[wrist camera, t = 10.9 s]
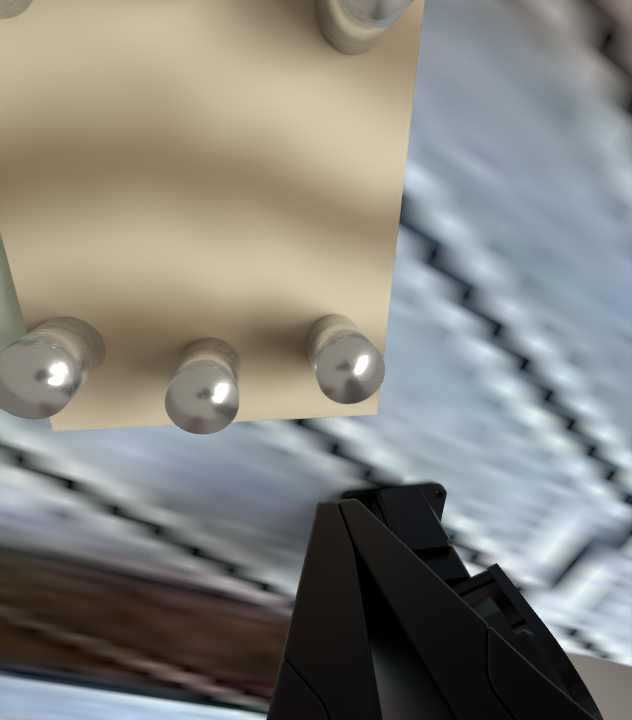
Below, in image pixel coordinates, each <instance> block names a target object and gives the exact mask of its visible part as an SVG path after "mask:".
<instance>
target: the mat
mask: <svg viewBox="0 0 632 720" xmlns="http://www.w3.org/2000/svg"><path fill="white" fill-rule="evenodd" d="M26 334H27V331H26V327H25V323H24V320H23V316H22V312H21V308H20V304H19V301H18V297H17V293H16V289H15V285H14V282H13V278H12V274H11V270H10V266H9V263H8V259H7V255H6V251H5V247H4V244H3V240H2V236H1V232H0V351H1V350H3V349H4V348H6V347H7V346H9V345H10V344H12V343H14V342H15V341H17V340H18V339H20V338H21V337H23V336H24V335H26Z"/></svg>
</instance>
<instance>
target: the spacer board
mask: <svg viewBox="0 0 632 720" xmlns="http://www.w3.org/2000/svg"><path fill="white" fill-rule="evenodd" d="M424 1H425V0H415V1H414V2H413V3H412V4H411V5H410V7H409V8H408V9H407V10H406V11H405V12H404V13H403V15H402V16H401V17H400V18H399V19H398V20H397V22H396V23H395V24H394V25H393V26H392V27H391V28H390V30H389V31H388V32H387V33H386V34H385V35H384V36H383V38H382V39H381V40H380V41H379V42H378V43H377V44H376V45H375V46H374V47H373V48H372V49H371V50H369V51H367V52H365V53H363V54H360V55H347V54H343V53H341V52H339V51H337V50H336V49H334V48H333V47H332V46H331V45H330V44H329V43H328V42H327V41H326V40H325V38H324V36H323V35H322V33H321V31H320V29H319V26H318V23H317V19H316V12H315V0H33V1H32V3H31V4H30V6H29V7H28V8H27V9H26V11H24V12H23V13H22V14H20V15H18V16H16V17H13V18H7V19H0V232H1V236H2V240H3V244H4V247H5V251H6V255H7V259H8V263H9V266H10V270H11V274H12V278H13V282H14V285H15V289H16V293H17V297H18V301H19V304H20V308H21V312H22V316H23V320H24V323H25V327H26V331H27V334H28V333H29V332H31V331H32V330H34V329H35V328H37V327H39V326H40V325H42V324H43V323H45V322H46V321H48V320H50V319H52V318H56V317H62V316H68V317H75V318H78V319H81V320H83V321H85V322H87V323H89V324H90V325H92V326H93V327H94V328H95V329H96V330H97V331H98V332H99V334H100V335H101V337H102V338H103V341H104V343H105V349H106V353H105V358H104V360H103V362H102V364H101V365H100V366H99V368H98V369H97V370H96V371H95V372H94V373H93V375H92V376H91V377H90V378H89V379H88V380H87V382H86V383H85V384H84V385H83V386H82V387H81V389H80V390H79V391H78V392H77V393H76V395H75V396H74V397H73V398H72V399H71V400H70V402H69V403H68V404H67V405H66V406H65V407H64V408H63V409H62V410H61V411H60V412H58V413H57V414H55V415H53V416H50V417H49V418H50V422H51V426H52V430H53V431H72V430H91V429H110V428H129V427H149V426H168V425H175V424H174V423H173V422H172V420H171V419H170V418H169V416H168V414H167V412H166V409H165V396H166V392H167V390H168V387H169V385H170V382H171V380H172V378H173V375H174V373H175V370H176V368H177V365H178V363H179V360H180V358H181V355H182V353H183V351H184V350H185V348H186V347H187V346H188V345H189V344H191V343H192V342H194V341H196V340H198V339H202V338H217V339H220V340H223V341H225V342H227V343H228V344H230V345H231V346H232V347H233V348H234V349H235V351H236V352H237V354H238V356H239V359H240V389H239V408H238V412H237V415H236V417H235V418H234V420H233V421H232V422H244V421H264V420H283V419H302V418H321V417H340V416H360V415H377V408H378V399H379V391H380V387H379V388H378V390H377V391H376V392H375V393H374V394H373V395H372V396H370V397H369V398H367V399H366V400H364V401H362V402H359V403H355V404H340V403H337V402H334V401H332V400H330V399H329V398H328V397H326V396H325V394H324V393H323V392H322V390H321V389H320V386H319V384H318V381H317V378H316V376H315V373H314V370H313V368H312V365H311V362H310V360H309V357H308V354H307V352H306V348H305V338H306V334H307V332H308V330H309V328H310V327H311V325H312V324H313V323H314V322H315V321H317V320H318V319H320V318H321V317H323V316H326V315H331V314H339V315H343V316H346V317H348V318H350V319H351V320H352V321H353V322H354V323H355V324H356V325H357V326H358V328H359V329H360V330H361V331H362V332H363V334H364V335H365V336H366V337H367V338H368V340H369V341H370V342H371V343H372V344H373V346H374V347H375V348H376V349H377V350H378V352H379V353H380V354H381V356H382V358H383V356H384V347H385V339H386V330H387V322H388V313H389V304H390V296H391V287H392V278H393V270H394V261H395V252H396V244H397V235H398V226H399V218H400V209H401V200H402V192H403V183H404V174H405V166H406V157H407V148H408V140H409V131H410V122H411V114H412V105H413V96H414V88H415V79H416V70H417V62H418V53H419V44H420V36H421V27H422V18H423V10H424Z"/></svg>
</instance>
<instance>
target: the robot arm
mask: <svg viewBox="0 0 632 720" xmlns="http://www.w3.org/2000/svg"><path fill="white" fill-rule="evenodd" d="M437 492H438V493H437ZM446 495H447V492H446V490H445V489H444V487H443V486H442V485H441V484H431V485H419V486H407V487H396V488H384V489H372V490H360V491H349V492H346V493H344V494H343V495H342V496H341V500H339V501H338V503H337V502H336V501H327V502H319V503H318V504H317V507H316V512H315V516H314V520H313V525H312V529H311V533H310V538H309V542H308V546H307V551H306V555H305V560H304V564H303V568H302V573H301V577H300V581H299V586H298V590H297V594H296V599H295V603H294V607H293V612H292V616H291V620H290V625H289V629H288V634H287V638H286V642H285V647H284V651H283V655H282V661H281V663H280V667H279V671H278V676H277V680H276V685H275V689H274V692H273V696H272V700H271V704H270V708H269V712H268V715H267V719H266V720H603V718H602V716H601V713H600V711H599V709H598V707H597V706H596V704H595V702H594V700H593V698H592V696H591V695H590V693H589V691H588V689H587V687H586V686H585V684H584V682H583V681H582V679H581V677H580V676H579V674H578V672H577V671H576V669H575V668H574V666H573V665H572V663H571V661H570V660H569V658H568V657H567V655H566V654H565V652H564V651H563V649H562V648H561V646H560V645H559V643H558V642H557V640H556V639H555V638H554V636H553V635H552V634H551V632H550V631H549V630H548V628H547V627H546V626H545V624H544V623H543V622H542V620H541V619H540V618H539V617H538V615H537V614H536V613H535V612H534V610H533V609H532V608H531V606H530V605H529V604H528V603H527V601H526V600H525V599H524V597H523V596H522V595H521V594H520V592H519V591H518V590H517V588H516V587H515V586H514V585H513V583H512V582H511V581H510V579H509V578H508V577H507V576H506V574H505V573H504V572H503V570H502V569H501V568H500V567H499V565H498V564H497V563H496V564H493V565H491V566H489V567H487V570H486V571H484V572H481V573H479V574H477V575H475V576H473V577H471V576H470V574H469V573H468V571H467V569H466V567H465V566H464V564H463V562H462V561H461V559H460V557H459V555H458V554H457V552H456V550H455V549H454V547H453V545H452V541H451V539H450V537H449V536H448V534H447V532H446V531H445V529H444V527H443V526H442V524H441V518H442V513H443V508H444V504H445V499H446Z"/></svg>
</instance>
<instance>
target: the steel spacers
mask: <svg viewBox="0 0 632 720" xmlns="http://www.w3.org/2000/svg"><path fill="white" fill-rule="evenodd" d="M32 1H33V0H0V19H7V18H13V17H16V16H18V15H20V14H22V13H23V12H24V11H26V9H27V8H28V7H29V6H30V4H31V3H32ZM414 1H415V0H315V12H316V19H317V23H318V26H319V29H320V31H321V33H322V35H323V36H324V38H325V40H326V41H327V42H328V43H329V44H330V45H331V46H332V47H333V48H334V49H336V50H337V51H339V52H341V53H343V54H347V55H360V54H363V53H365V52H367V51H369V50H371V49H372V48H373V47H374V46H375V45H376V44H377V43H378V42H379V41H380V40H381V39H382V38H383V36H384V35H385V34H386V33H387V32H388V31H389V30H390V28H391V27H392V26H393V25H394V24H395V23H396V22H397V20H398V19H399V18H400V17H401V16H402V15H403V13H404V12H405V11H406V10H407V9H408V8H409V7H410V5H411V4H412V3H413V2H414ZM305 348H306V352H307V354H308V357H309V360H310V362H311V365H312V368H313V370H314V373H315V376H316V378H317V381H318V384H319V386H320V389H321V390H322V392H323V393H324V394H325V396H326V397H328V398H329V399H330V400H332V401H334V402H337V403H340V404H355V403H359V402H362V401H364V400H366V399H367V398H369V397H370V396H372V395H373V394H374V393H375V392H376V391H377V390H378V388H379V387H380V385H381V383H382V381H383V379H384V375H385V364H384V360H383V358H382V356H381V354H380V353H379V352H378V350H377V349H376V348H375V347H374V346H373V344H372V343H371V342H370V341H369V340H368V338H367V337H366V336H365V335H364V334H363V332H362V331H361V330H360V329H359V328H358V326H357V325H356V324H355V323H354V322H353V321H352V320H351V319H350V318H348V317H346V316H343V315H339V314H331V315H326V316H323V317H321V318H320V319H318V320H317V321H315V322H314V323H313V324H312V325H311V327H310V328H309V330H308V332H307V334H306V338H305ZM105 353H106V349H105V343H104V341H103V338H102V337H101V335H100V334H99V332H98V331H97V330H96V329H95V328H94V327H93V326H92V325H90V324H89V323H87V322H85V321H83V320H81V319H78V318H75V317H68V316H62V317H56V318H52V319H50V320H48V321H46V322H45V323H43V324H42V325H40V326H39V327H37V328H35V329H34V330H32V331H31V332H29V333H28V334H26V335H24V336H23V337H21V338H20V339H18V340H17V341H15V342H14V343H12V344H10V345H9V346H7V347H6V348H4V349H3V350H1V351H0V408H1V409H3V410H4V411H6V412H8V413H10V414H12V415H15V416H18V417H22V418H28V419H41V418H47V417H50V416H53V415H55V414H57V413H58V412H60V411H61V410H62V409H63V408H64V407H65V406H66V405H67V404H68V403H69V402H70V400H71V399H72V398H73V397H74V396H75V395H76V393H77V392H78V391H79V390H80V389H81V387H82V386H83V385H84V384H85V383H86V382H87V380H88V379H89V378H90V377H91V376H92V375H93V373H94V372H95V371H96V370H97V369H98V368H99V366H100V365H101V364H102V362H103V360H104V358H105ZM239 389H240V359H239V356H238V354H237V352H236V351H235V349H234V348H233V347H232V346H231V345H230V344H228V343H227V342H225V341H223V340H220V339H217V338H202V339H198V340H196V341H194V342H192V343H191V344H189V345H188V346H187V347H186V348H185V350H184V351H183V353H182V355H181V358H180V360H179V363H178V365H177V368H176V370H175V373H174V375H173V378H172V380H171V382H170V385H169V387H168V390H167V392H166V396H165V409H166V412H167V414H168V416H169V418H170V419H171V420H172V422H173V423H174V424H175V425H177V426H178V427H179V428H181V429H183V430H185V431H187V432H190V433H194V434H211V433H215V432H218V431H220V430H222V429H224V428H225V427H227V426H228V425H229V424H230V423H231V422H232V421H233V420H234V418H235V417H236V415H237V412H238V408H239Z"/></svg>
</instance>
